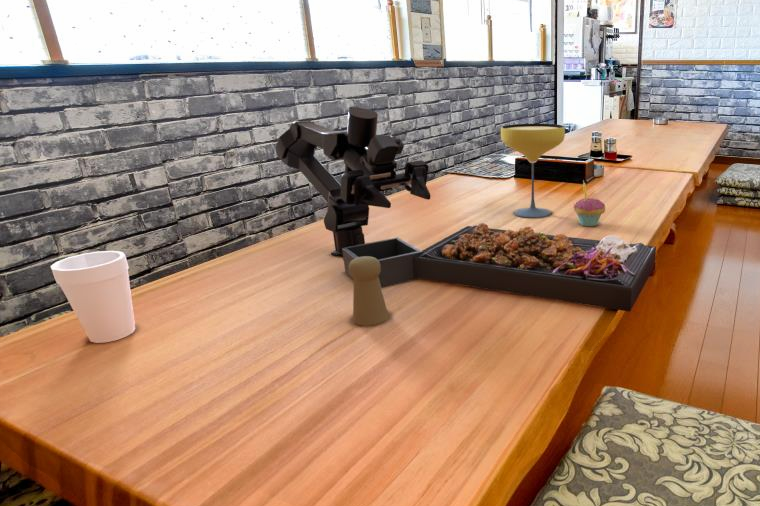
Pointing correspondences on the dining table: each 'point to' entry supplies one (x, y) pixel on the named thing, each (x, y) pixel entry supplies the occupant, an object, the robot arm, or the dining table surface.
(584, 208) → the cupcake
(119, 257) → the foam cup
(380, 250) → the dark grey open box
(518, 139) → the cocktail glass
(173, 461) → the dining table surface
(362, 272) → the cork
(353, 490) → the dining table surface
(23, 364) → the dining table surface
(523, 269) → the food platter
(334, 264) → the dining table surface
